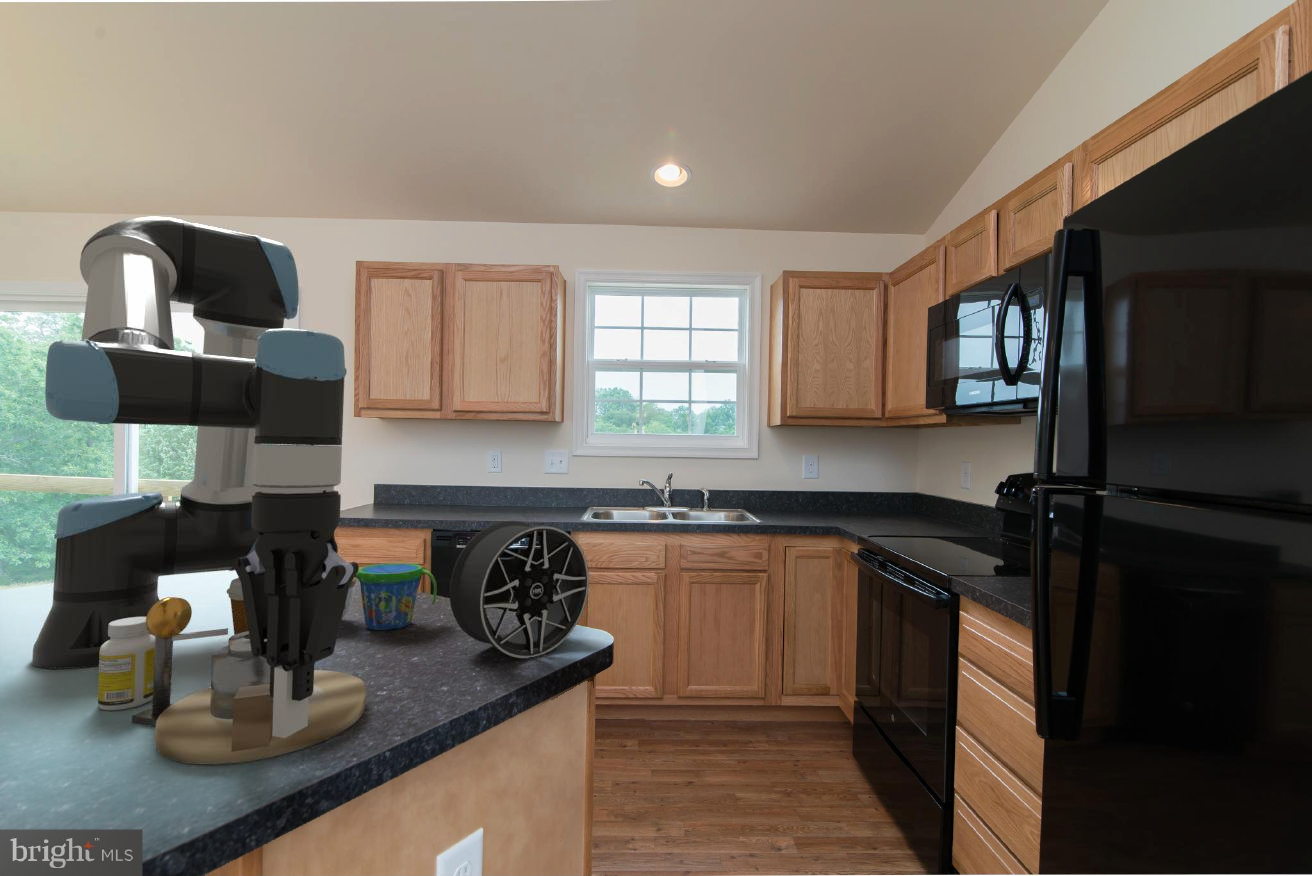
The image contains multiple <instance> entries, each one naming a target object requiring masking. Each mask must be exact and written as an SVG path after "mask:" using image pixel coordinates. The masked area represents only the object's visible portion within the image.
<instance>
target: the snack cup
mask: <svg viewBox="0 0 1312 876" xmlns="http://www.w3.org/2000/svg"><path fill="white" fill-rule="evenodd" d="M423 575H427V577H428V578H429V579H430V580H431V583H432V584H433V596H432V599H431V600H432V601H431V604H432V605H435V602H436V600H437V592H438V588H437V586H438V585H437V581H436V579H435V577H434V575H433V574H432V573H431V571H429V570H427V569H425V568H423V567H422V566H421V565H420V564H415V563H405V562H403V563H402V562H397V563H395V562H394V563H393V562H392V563H379V564H373V565H372V564H370V565H366V566H363V567H359V570H358V572H357V574H356V576H355V579H357V580H358V581H359V585H360V594H361V601H362V602H361V603H362V609H363V617H364V624H365V625H364V626H365V627H366V628H369V629H370V630H374V631H386V630H387V631H388V630H392V629H402V628H405V627H407V626H408V625H410V624H412V622H413V618H414V612H415V606H416V601H417V594H418V591H419V588H420V584H421V580H422V576H423ZM345 608H346V604H345V606H344V610H345Z"/></svg>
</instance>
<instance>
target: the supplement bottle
mask: <svg viewBox="0 0 1312 876" xmlns="http://www.w3.org/2000/svg"><path fill="white" fill-rule="evenodd" d="M108 636H109V637H111V639H110V640H108V641H107V642H105V643H104V644H103V645H102V646H101V648H100V653H99V665H98V685H97V688H98V689H97V693H98V694H97V705H98V708H99V709H101V710H103V711H107V712H108V711H110V712H111V711H114V712H115V711H122V710H127V709H131V708H135V707H139V706H143V705H144V704H147V703H149V702H152V701H153V680H154V658H155V636H153V635H150V634H149V632H148V630H147V628H146V617H131V618H124V619H120V620H116V621H113V622H110V623H109V625H108Z"/></svg>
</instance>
